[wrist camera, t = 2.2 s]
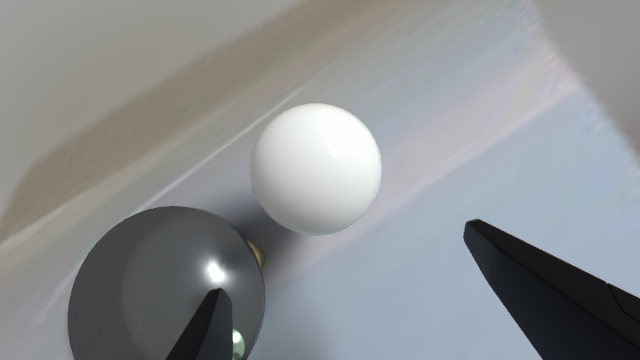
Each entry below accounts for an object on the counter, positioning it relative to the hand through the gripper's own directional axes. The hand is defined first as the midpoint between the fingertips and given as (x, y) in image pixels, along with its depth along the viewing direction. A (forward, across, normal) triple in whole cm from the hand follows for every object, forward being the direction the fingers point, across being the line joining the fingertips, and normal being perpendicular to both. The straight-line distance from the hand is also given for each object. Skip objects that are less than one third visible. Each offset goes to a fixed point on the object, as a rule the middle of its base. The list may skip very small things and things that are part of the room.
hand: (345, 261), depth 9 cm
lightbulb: (+11, 0, +5) cm, 12 cm away
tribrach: (+7, +12, +8) cm, 16 cm away
